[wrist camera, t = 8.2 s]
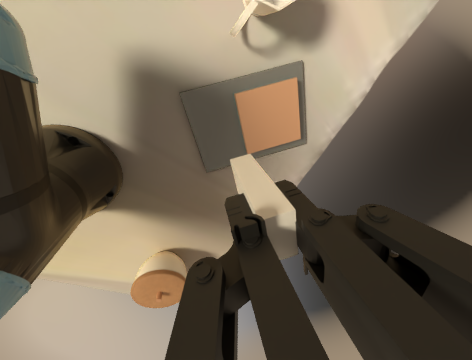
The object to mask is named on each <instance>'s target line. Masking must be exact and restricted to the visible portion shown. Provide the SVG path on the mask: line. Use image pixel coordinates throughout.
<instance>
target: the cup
mask: <svg viewBox="0 0 472 360" xmlns="http://www.w3.org/2000/svg"><path fill="white" fill-rule="evenodd" d="M242 1H243V4H244V6H245V9H244V11H243V13H242V14H241V16H240V17H239V19H238V20H237V22H236V23H235V25H234V27H233V28H232V30H231V31H230V34H231V35H232V36H233V37H235V36H236V35H237V33H238V32H239V31H240V29H241V28H242V27H243V25H244V24H245V23H246V21H247V20H248V18H249V17H250V15H251V14H252V15H254V16H257V17H258V16H260V15H262V16H266V15H268V14H271V13H275V12H278V11H280V10H281V9H283V8H285V7H286V6H288V5H289V4H291V3H292V2H294V1H296V0H242Z"/></svg>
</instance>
